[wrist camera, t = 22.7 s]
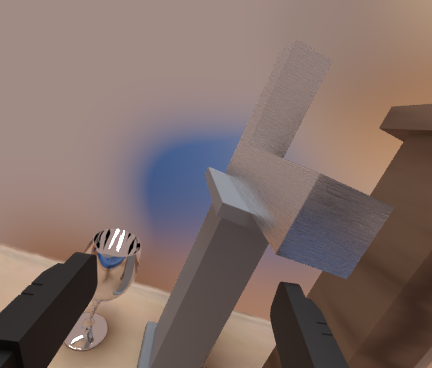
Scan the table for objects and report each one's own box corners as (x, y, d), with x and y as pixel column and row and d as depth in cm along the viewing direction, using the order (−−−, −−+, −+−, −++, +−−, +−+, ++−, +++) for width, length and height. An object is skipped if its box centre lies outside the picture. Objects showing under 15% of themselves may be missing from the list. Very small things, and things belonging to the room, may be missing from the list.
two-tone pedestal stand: (289, 387, 28) (456, 144, 21) (349, 546, 18) (726, 169, 10) (228, 376, 26) (387, 104, 19) (253, 547, 16) (635, 83, 8)
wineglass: (83, 369, 21) (121, 270, 18) (41, 335, 22) (71, 237, 20) (123, 325, 27) (156, 245, 24) (88, 300, 28) (116, 220, 25)
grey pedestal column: (199, 328, 31) (269, 191, 26) (204, 436, 20) (323, 239, 15) (144, 316, 29) (208, 166, 24) (118, 427, 18) (222, 202, 14)
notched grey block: (254, 184, 27) (310, 70, 24) (347, 279, 10) (562, -46, 7) (225, 172, 26) (279, 53, 23) (275, 254, 10) (483, -119, 7)
